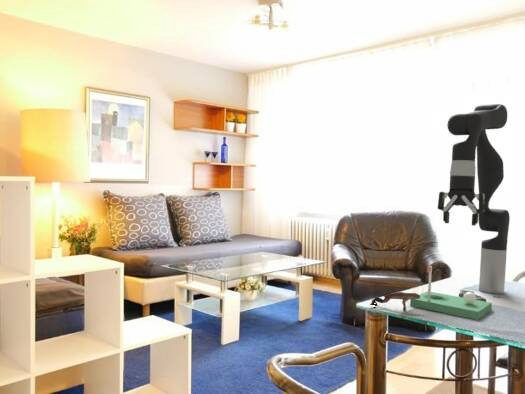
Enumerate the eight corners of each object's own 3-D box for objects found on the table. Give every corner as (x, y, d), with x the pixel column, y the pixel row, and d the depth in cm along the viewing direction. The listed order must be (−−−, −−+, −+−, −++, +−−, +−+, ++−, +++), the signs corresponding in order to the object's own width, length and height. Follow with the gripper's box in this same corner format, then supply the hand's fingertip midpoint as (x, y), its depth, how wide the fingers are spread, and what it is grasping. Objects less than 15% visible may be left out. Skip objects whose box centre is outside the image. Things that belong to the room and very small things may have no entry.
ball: (464, 301, 160) (465, 290, 160) (477, 304, 157) (478, 292, 157) (461, 303, 157) (461, 292, 156) (473, 306, 154) (474, 294, 154)
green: (427, 297, 174) (427, 291, 174) (491, 310, 160) (491, 302, 160) (410, 305, 162) (410, 298, 162) (477, 319, 148) (478, 311, 147)
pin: (428, 300, 159) (429, 265, 159) (430, 301, 159) (432, 266, 158) (424, 302, 157) (426, 266, 156) (427, 302, 156) (429, 267, 156)
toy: (384, 326, 156) (423, 302, 152) (368, 303, 157) (406, 279, 153) (385, 321, 161) (423, 298, 157) (370, 300, 162) (406, 276, 158)
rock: (491, 304, 169) (492, 293, 168) (475, 308, 163) (476, 296, 163) (471, 299, 175) (472, 288, 175) (455, 302, 169) (456, 291, 169)
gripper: (489, 175, 152) (486, 225, 152) (444, 174, 161) (442, 221, 161) (482, 174, 146) (479, 226, 146) (436, 174, 155) (434, 222, 156)
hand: (459, 224), depth 154 cm, fingers open, 8 cm apart
